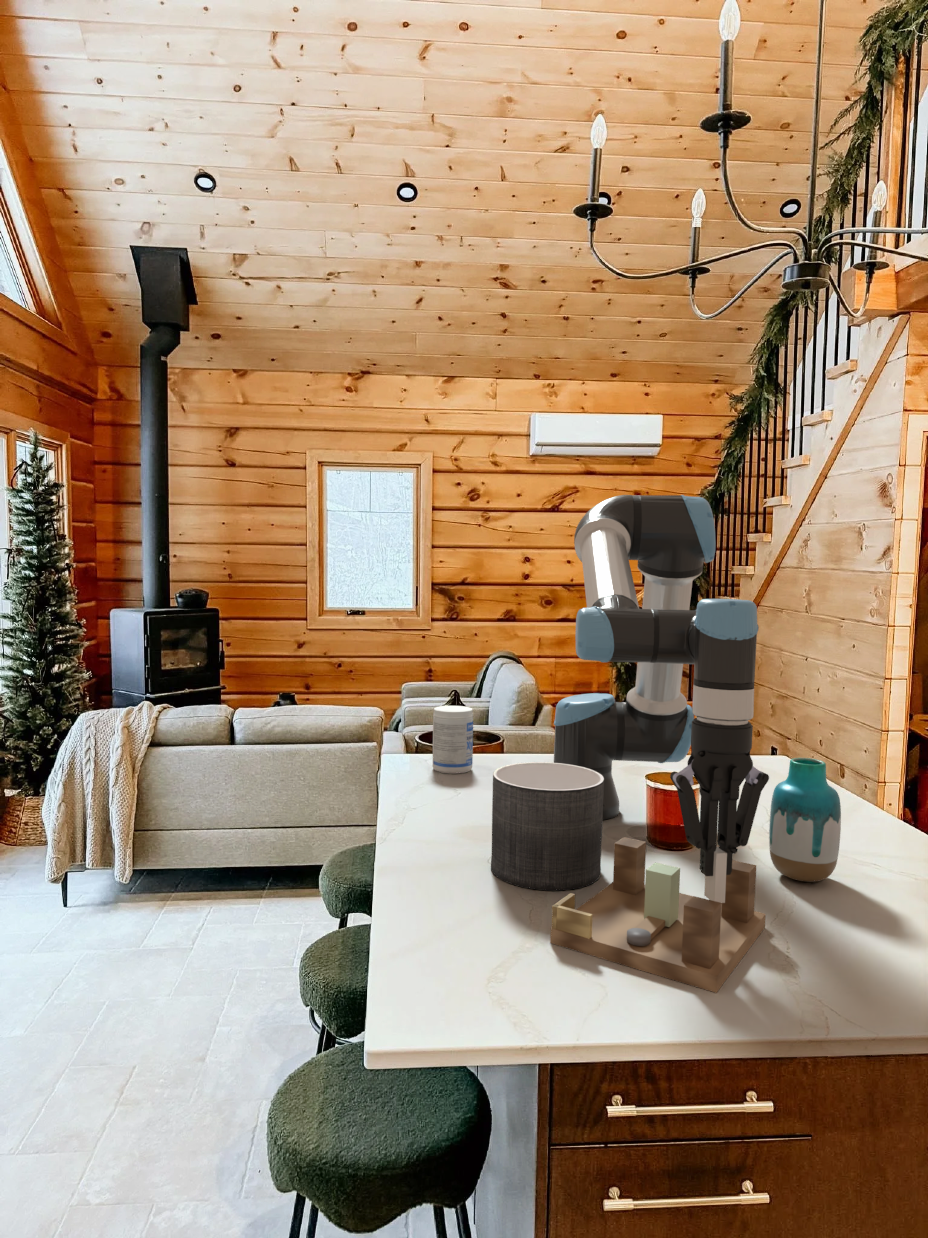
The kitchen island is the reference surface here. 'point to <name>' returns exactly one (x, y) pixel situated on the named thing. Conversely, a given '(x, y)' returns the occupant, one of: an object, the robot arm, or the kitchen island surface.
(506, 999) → the kitchen island surface
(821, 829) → the vase
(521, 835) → the planter
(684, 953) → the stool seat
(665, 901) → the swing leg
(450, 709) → the supplement tub
